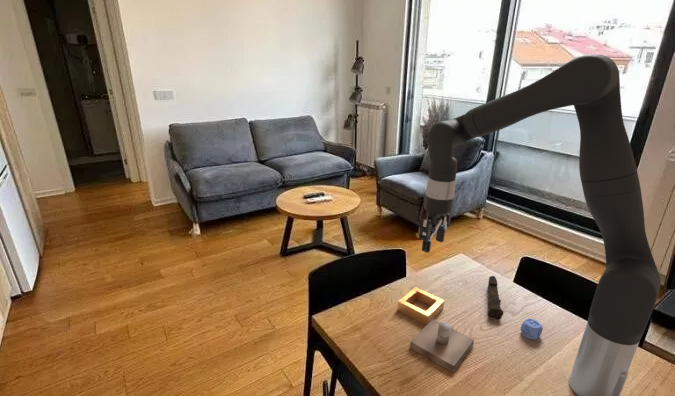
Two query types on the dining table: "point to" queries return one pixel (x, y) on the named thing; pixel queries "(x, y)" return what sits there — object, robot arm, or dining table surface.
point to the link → (416, 312)
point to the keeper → (442, 344)
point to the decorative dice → (531, 329)
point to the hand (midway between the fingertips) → (432, 246)
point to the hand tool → (494, 300)
